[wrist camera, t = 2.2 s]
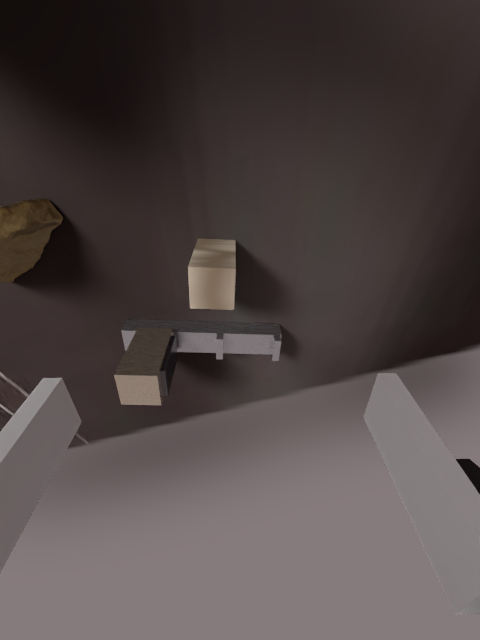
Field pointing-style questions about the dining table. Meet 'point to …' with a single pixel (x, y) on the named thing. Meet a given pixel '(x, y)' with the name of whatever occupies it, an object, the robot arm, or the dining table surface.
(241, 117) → the dining table surface
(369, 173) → the dining table surface
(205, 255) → the block
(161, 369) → the grey l-shaped piece
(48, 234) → the rock
